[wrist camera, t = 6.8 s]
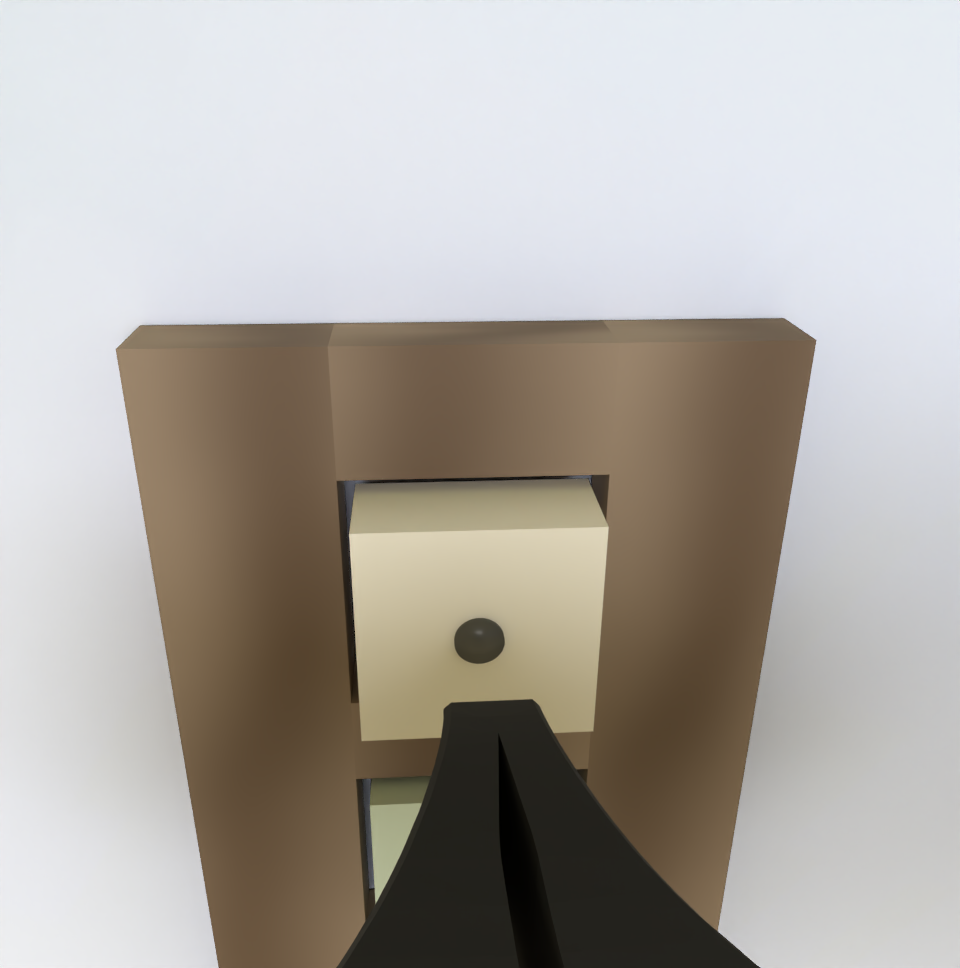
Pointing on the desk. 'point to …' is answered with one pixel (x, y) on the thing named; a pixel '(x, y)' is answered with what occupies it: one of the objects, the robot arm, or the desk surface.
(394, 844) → the sage button
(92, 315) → the desk surface
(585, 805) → the robot arm
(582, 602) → the cream button
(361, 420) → the button board
